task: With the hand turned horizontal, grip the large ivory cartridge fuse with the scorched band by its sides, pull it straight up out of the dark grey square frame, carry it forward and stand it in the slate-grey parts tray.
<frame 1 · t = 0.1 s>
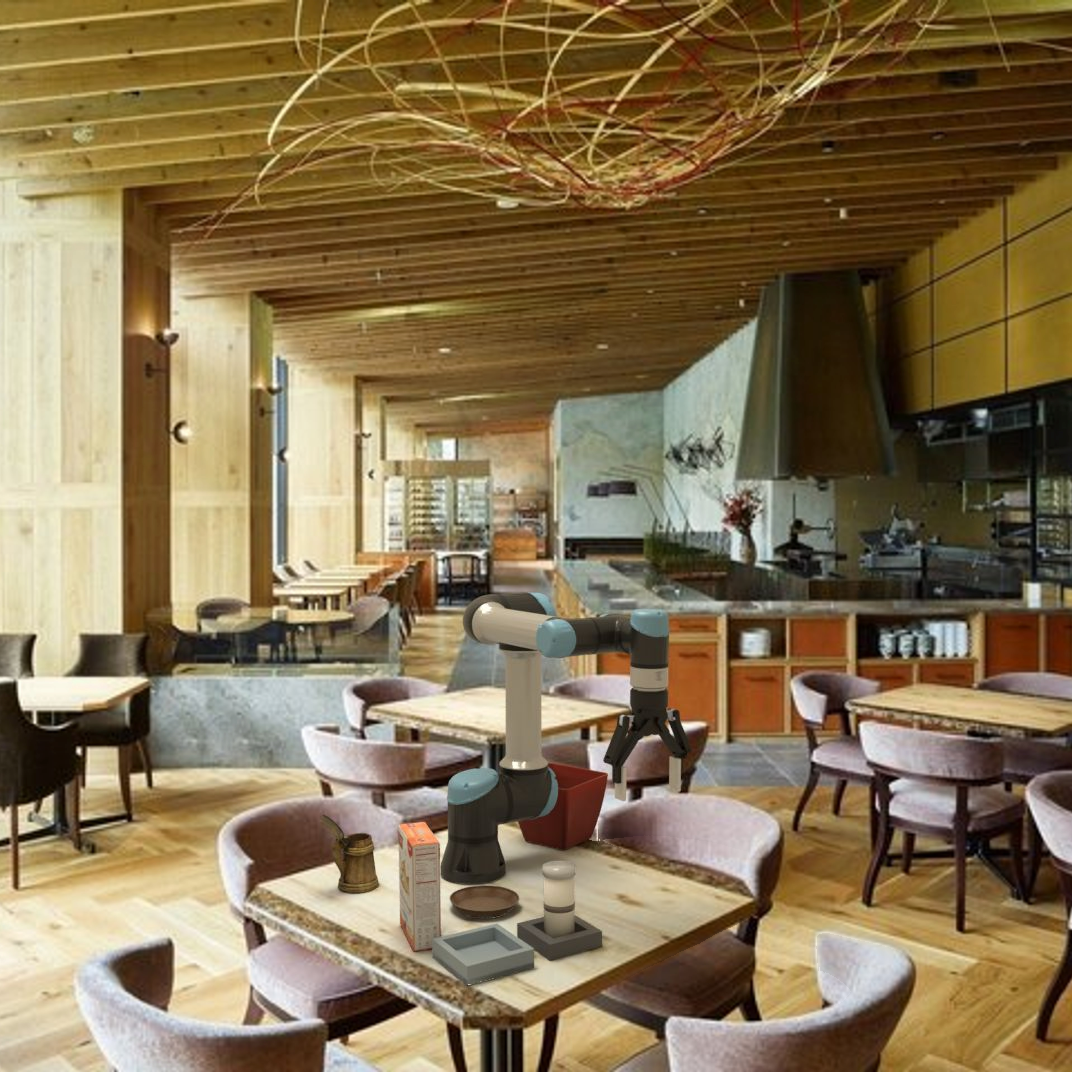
hand: (648, 794, 205), 28 cm above the table, tool pointing down, fingers open, 13 cm apart
dark grey square frame: (559, 942, 202), on the table
cracker box: (419, 937, 205), on the table
plant pot: (558, 841, 265), on the table
saucer: (484, 910, 220), on the table
wooden mug: (349, 889, 231), on the table
parts tray: (482, 962, 193), on the table
blown fuse: (559, 904, 202), in the dark grey square frame
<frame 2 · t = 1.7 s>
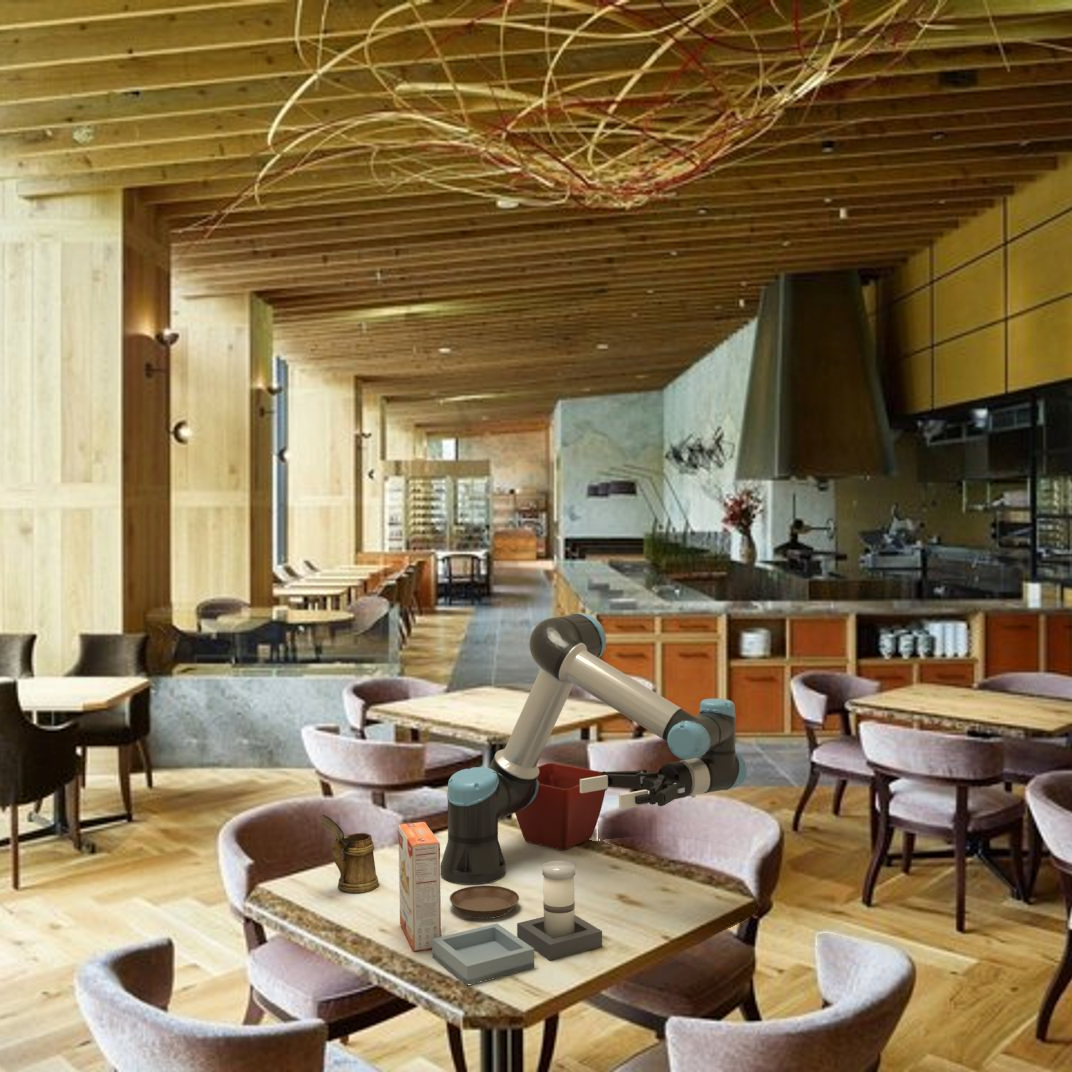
hand: (599, 793, 207), 28 cm above the table, tool horizontal, fingers open, 13 cm apart
nothing on the table moved.
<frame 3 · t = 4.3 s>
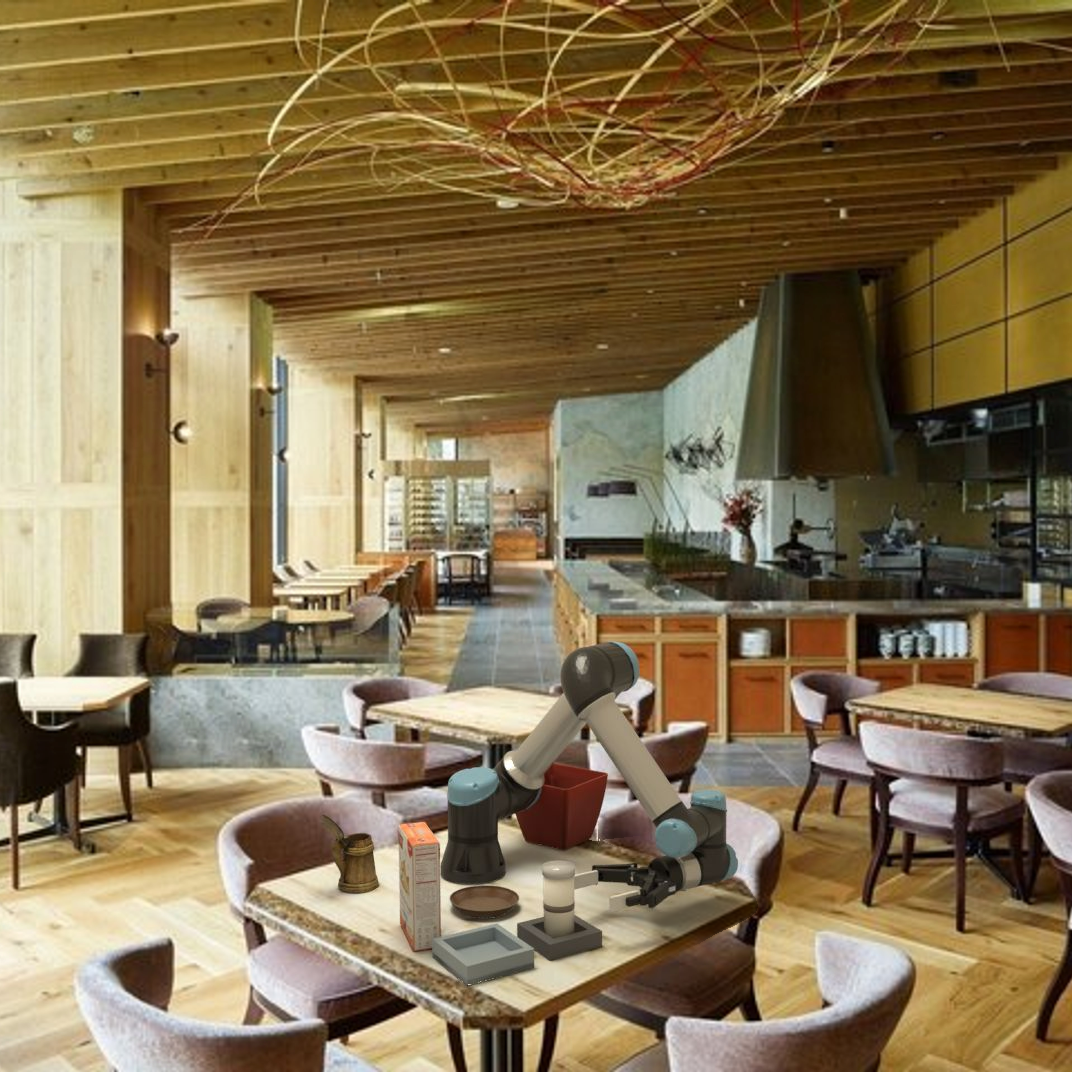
hand: (590, 893, 205), 8 cm above the table, tool horizontal, fingers open, 13 cm apart
nothing on the table moved.
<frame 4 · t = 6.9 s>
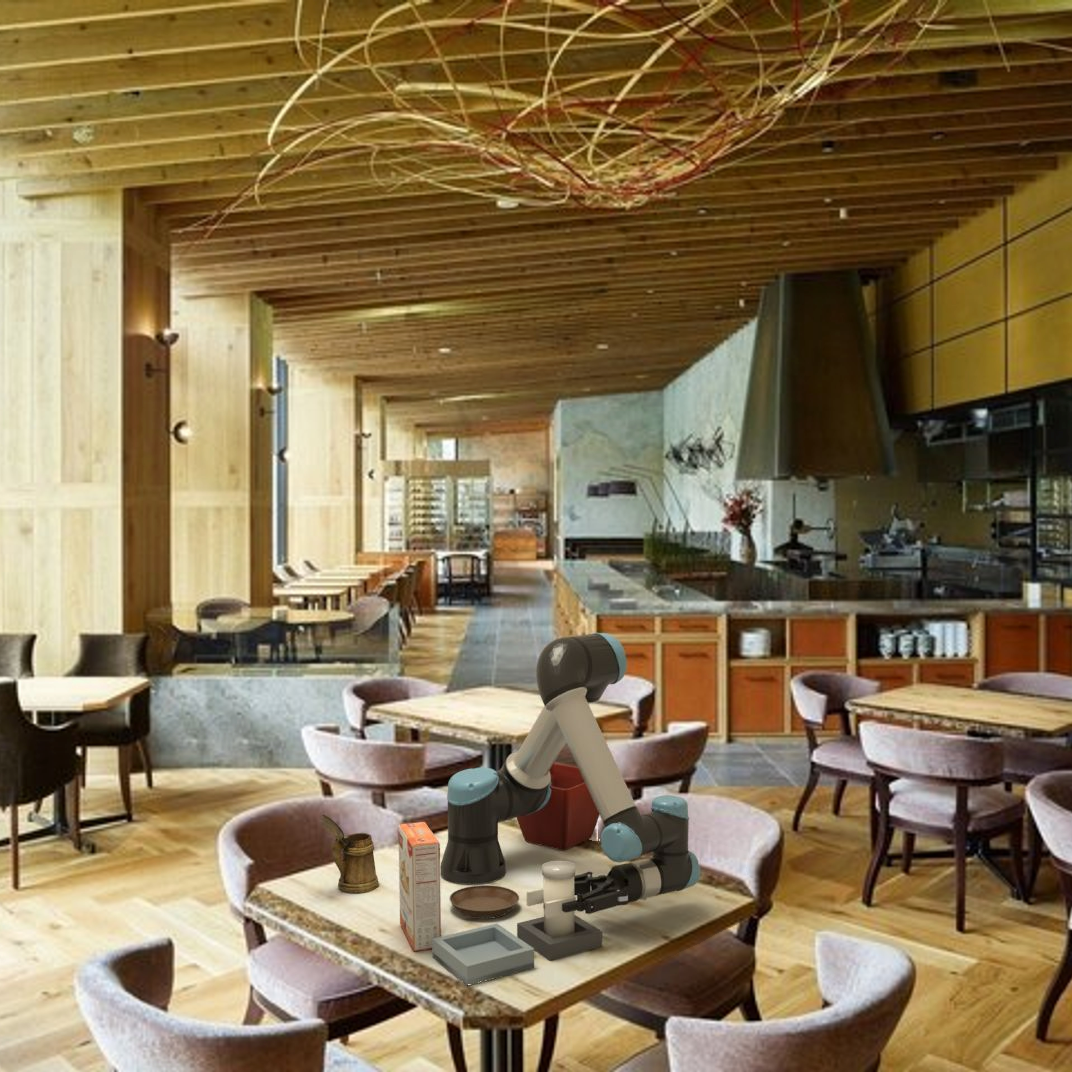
hand: (536, 904, 199), 9 cm above the table, tool horizontal, fingers closed on blown fuse, 6 cm apart
blown fuse: (559, 904, 202), in the dark grey square frame, touching gripper
everything else where it was.
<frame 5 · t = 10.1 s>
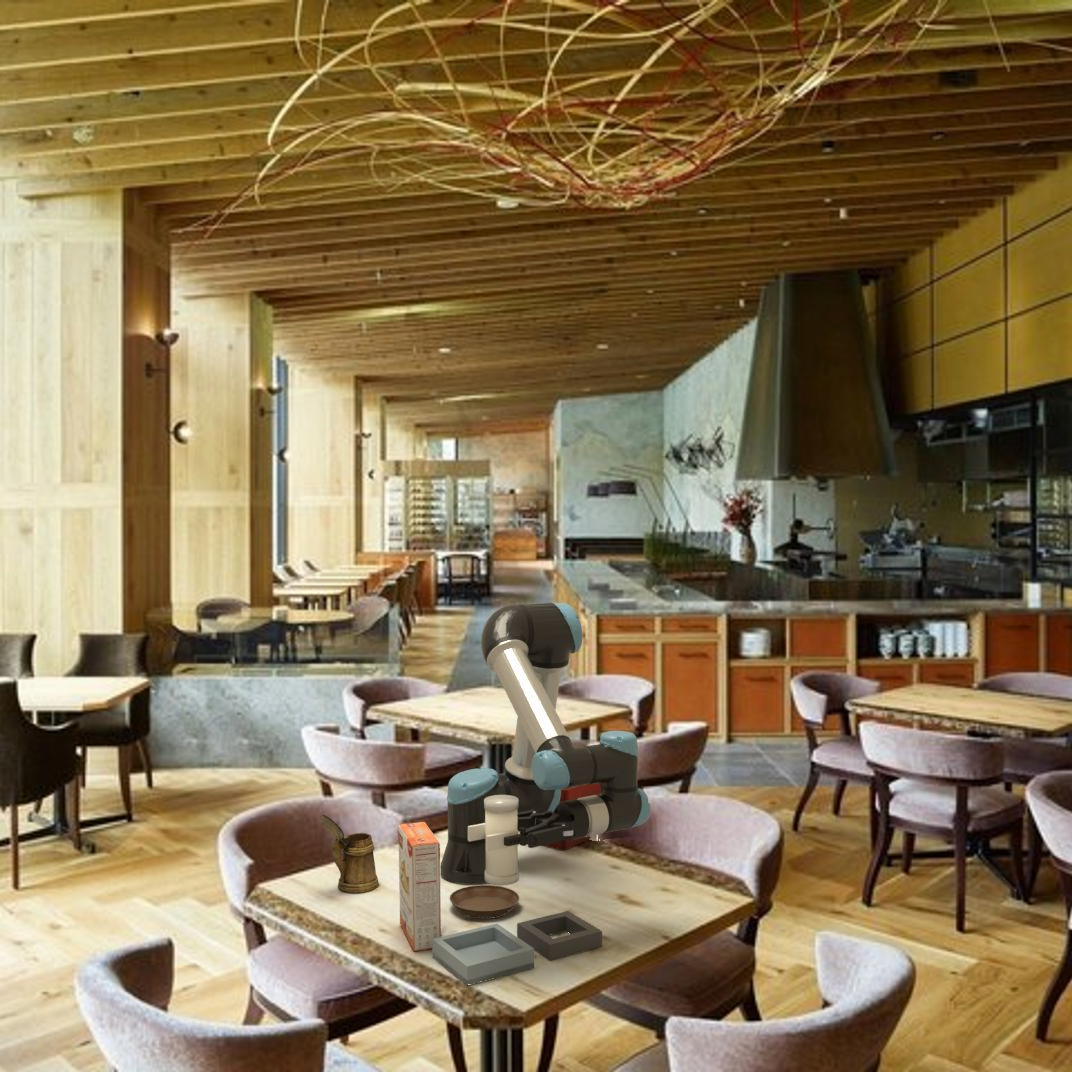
hand: (477, 838, 191), 24 cm above the table, tool horizontal, fingers closed on blown fuse, 6 cm apart
blown fuse: (501, 839, 194), point 23 cm above the table, touching gripper
everything else where it was.
when the fingers open (10 cm above the table, at t = 13.4 s): blown fuse stays where it is, resting on parts tray.
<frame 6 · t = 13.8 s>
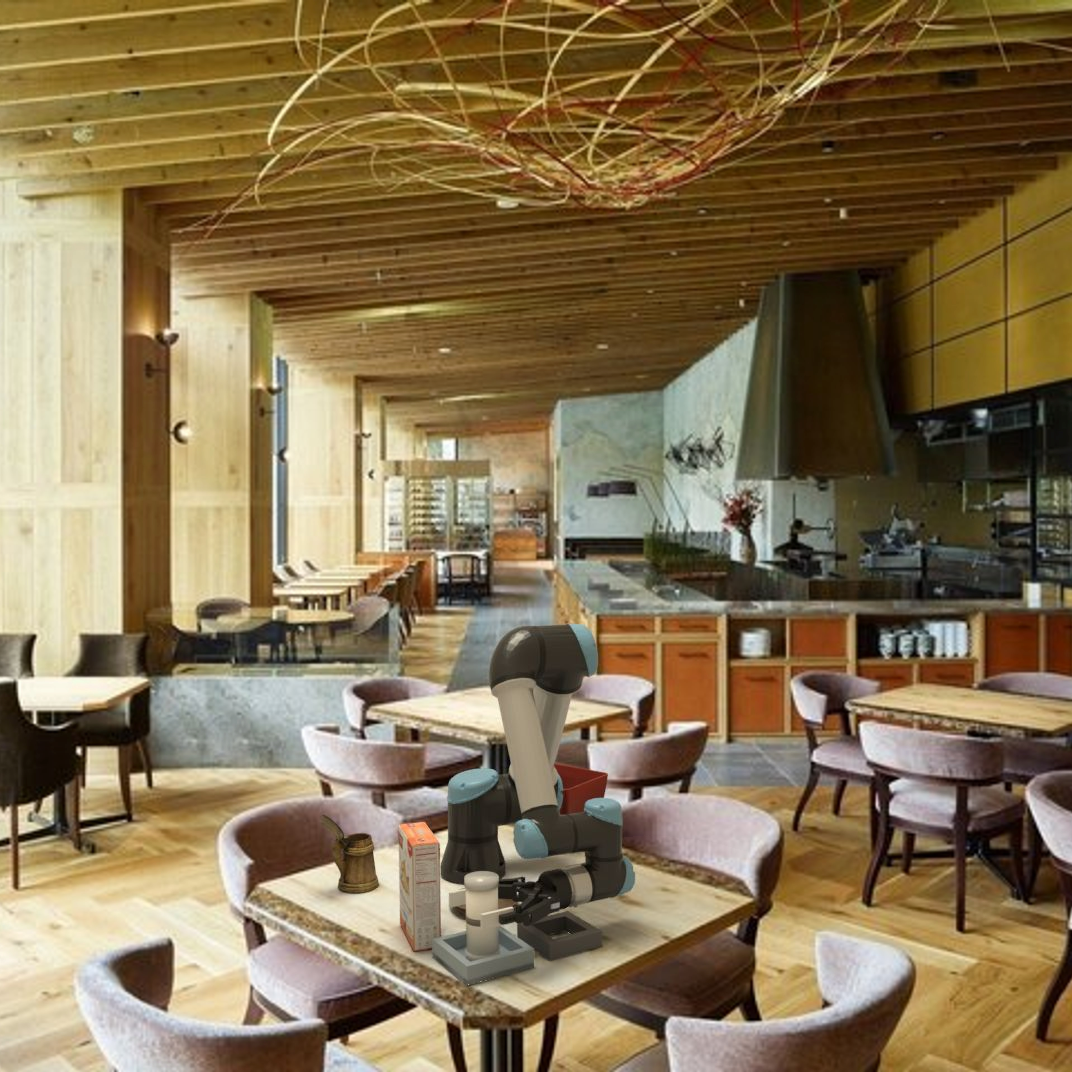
hand: (464, 910, 191), 10 cm above the table, tool horizontal, fingers open, 12 cm apart
blown fuse: (482, 916, 193), in the parts tray, point 8 cm above the table
everything else where it was.
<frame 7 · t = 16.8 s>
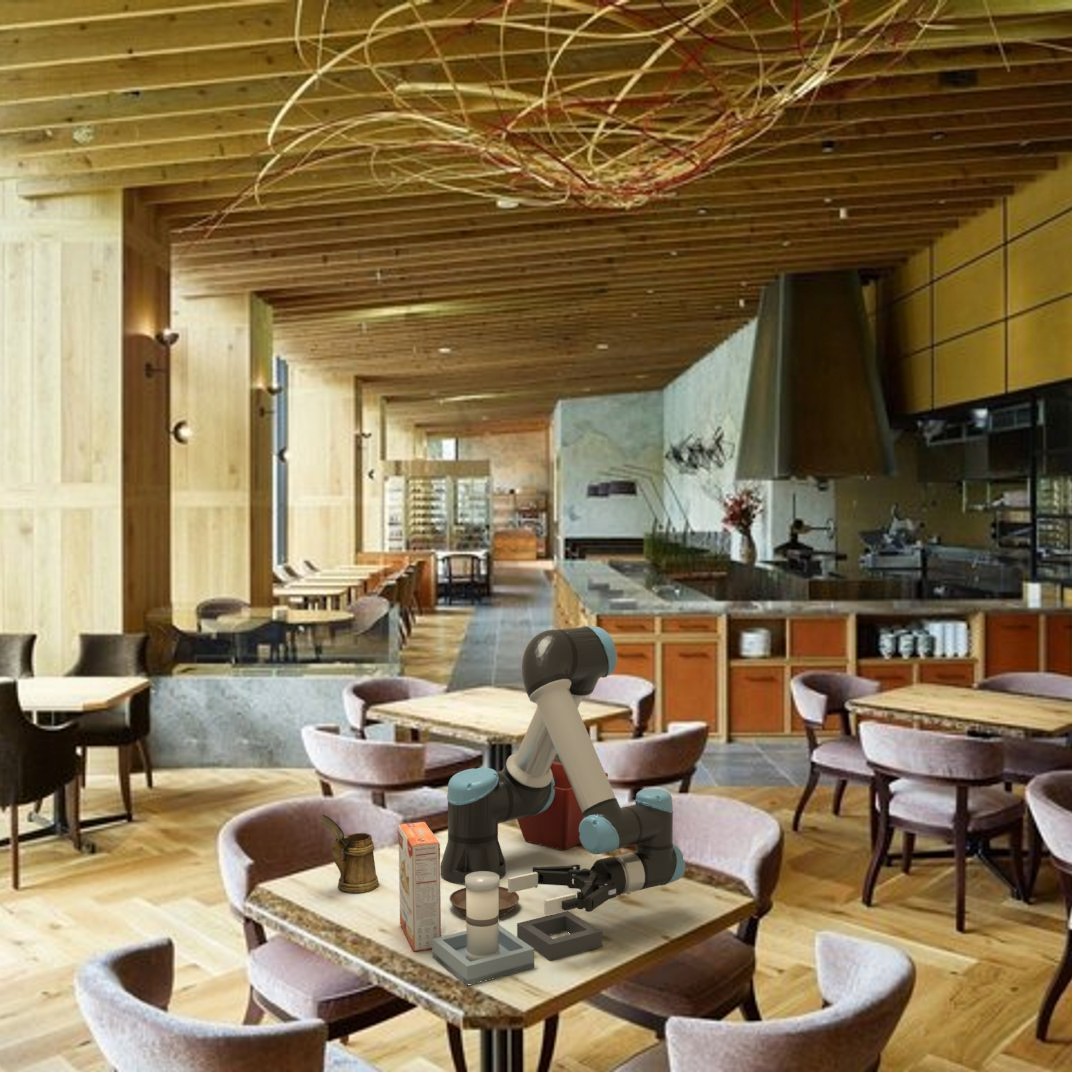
hand: (526, 896, 198), 11 cm above the table, tool horizontal, fingers open, 13 cm apart
nothing on the table moved.
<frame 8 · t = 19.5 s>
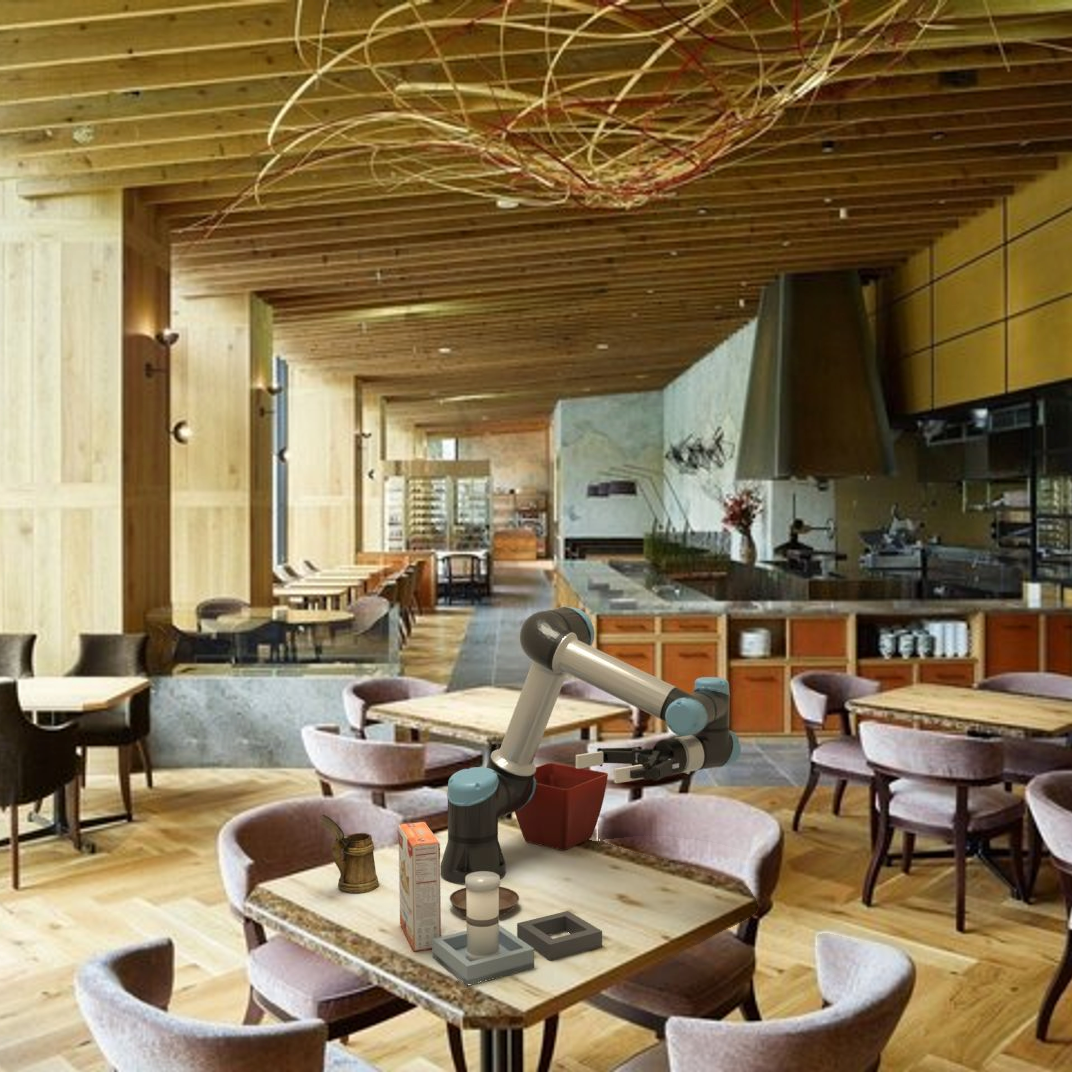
hand: (595, 768, 210), 32 cm above the table, tool horizontal, fingers open, 13 cm apart
nothing on the table moved.
at the end: blown fuse inside the target area on the parts tray (0.0 cm from its centre), point 8.5 cm above the parts tray's base; blown fuse tilted 0°; the gripper is holding nothing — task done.
